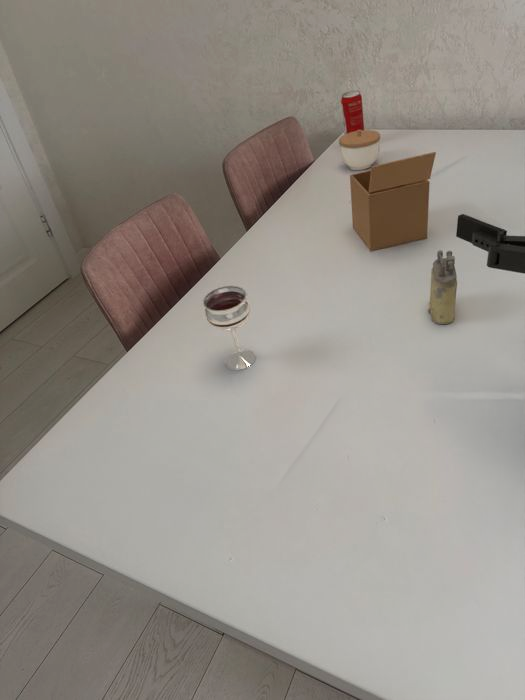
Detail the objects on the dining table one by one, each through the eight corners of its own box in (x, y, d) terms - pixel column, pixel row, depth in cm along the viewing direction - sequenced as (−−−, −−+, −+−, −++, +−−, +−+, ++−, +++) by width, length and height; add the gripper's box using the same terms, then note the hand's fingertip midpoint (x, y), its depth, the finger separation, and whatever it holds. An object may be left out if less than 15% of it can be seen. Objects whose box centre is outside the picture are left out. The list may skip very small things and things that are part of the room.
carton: (427, 238, 100) (429, 181, 93) (370, 251, 100) (368, 195, 93) (404, 215, 110) (405, 162, 102) (352, 227, 109) (349, 174, 102)
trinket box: (332, 169, 137) (330, 134, 132) (358, 156, 142) (357, 121, 136) (362, 176, 130) (361, 139, 125) (389, 162, 135) (388, 125, 129)
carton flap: (429, 177, 93) (429, 179, 93) (368, 191, 92) (369, 192, 92) (435, 151, 88) (436, 152, 88) (371, 166, 88) (371, 167, 87)
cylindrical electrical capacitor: (455, 324, 78) (460, 269, 72) (429, 325, 79) (433, 271, 73) (450, 299, 84) (454, 245, 77) (426, 299, 84) (429, 247, 78)
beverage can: (367, 143, 149) (365, 88, 140) (361, 151, 145) (358, 95, 136) (348, 143, 152) (345, 90, 142) (341, 151, 147) (338, 96, 138)
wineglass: (269, 352, 81) (256, 290, 73) (244, 378, 77) (228, 315, 69) (236, 342, 84) (220, 282, 77) (211, 366, 80) (192, 305, 73)
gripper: (581, 354, 45) (421, 268, 61) (747, 262, 52) (565, 206, 68) (603, 283, 41) (424, 210, 57) (782, 193, 48) (578, 150, 64)
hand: (500, 208), depth 62 cm, fingers open, 13 cm apart
